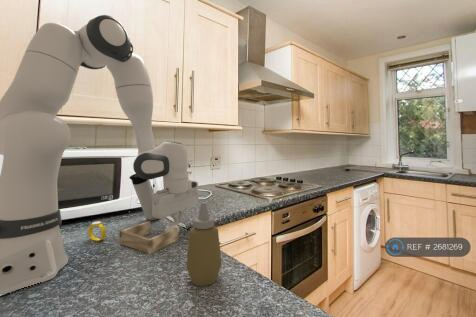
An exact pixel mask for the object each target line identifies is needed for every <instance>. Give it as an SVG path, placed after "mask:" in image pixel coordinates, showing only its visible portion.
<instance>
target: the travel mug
mask: <svg viewBox="0 0 476 317" xmlns="http://www.w3.org/2000/svg"><path fill="white" fill-rule="evenodd" d="M129 179H130V180H131V182H132V186H133V189H134V190H135V193H136V196H137V198H138V201H139V204H140V207H141V208H142V212H143V214H144V216H145V219H146V220H147V221H150V222H151V221H154V220H157V218H154V217H153V216H152V205H153V195H154V194H155V191H154V188H153V186H152V183H151V179H150V180H147V179H142V178H140V177H139V176H137V175H136V173H135V174H131V175H130V176H129Z"/></svg>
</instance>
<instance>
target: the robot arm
mask: <svg viewBox="0 0 476 317" xmlns="http://www.w3.org/2000/svg"><path fill="white" fill-rule="evenodd" d="M133 52H134V46H133V43H132V42H131V38H130V36H129V34H128V31H127V30H126V29H125V27H124V25H123V24H122V23H121V22H120V21H119V20H118V19H116V18H115V17H113V16H111V15H107V14H101V15H100V14H99V15H96V16H94V17H92V18H90V19H89V20H88V21H87V23H86V24H84V25H83V26H82V27H81V28H80V29H79V30H72V29H70V28H69V27H67V26H65V25H64V24H61V23H57V22H47V23H44V24H43V25H41V26H40V28H39V29H38V30H37V31H36V33H35V34H34V35H33V37H32V38H31V40H30V41H29V43H28V45H27V46H26V49H25V51H24V54H23V55H22V58H21V61H20V64H19V66H18V68H17V70H16V73H15V75H14V78H13V79H12V82H11V83H10V85H9V87H8V88H7V90H6V91H5V93H4V94H3V96H2V97H1V99H0V155H2V156H3V158H2V165H1V169H0V170H1V171H0V294H2V293H5V292H10V291H13V290H17V289H21V288H24V287H27V288H29V287H28V286H30V287H32V286H31V285H33V286H35V285H34V284H36V285H38V284H37V283H39V284H41V283H44V282H47V281H50V280H52V279H54V278H56V276H57V275H58V272H59V271H60V270H61V269H63V268H64V267H65V266H66V265H67V264H68V262H69V256H68V255H67V252H66V250H65V247H64V242H63V238H62V232H61V230H62V215H61V214H62V213H61V209H60V208H59V199H58V193H59V192H58V178H59V171H60V168H61V167H60V166H61V163H62V159H63V155H64V152H65V151H66V149H67V148H68V147H69V146H70V143H71V141H72V140H71V139H72V133H71V129H70V127H69V125H68V124H67V123H66V122H65V121H64V120H63V119H62V118H60V117H59V116H57V114H58V113H59V112H60V110H61V109H62V108H63V107H64V106H65V105H66V104H67V103H68V101H69V99H70V96H71V94H72V91H73V88H74V84H75V83H76V78H77V76H78V73H79V70H80V67H83V68H85V69H89V70H101V69H103V68H105V67H106V68H107V69H108V70H109V72H110V74H111V75H112V78H113V81H114V82H113V83H114V88H115V92H116V97H117V100H118V102H119V105H120V108H121V110H122V112H123V113H124V114H125V116H126V117H127V118H128V120H129V122H130V123H131V126H132V128H133V131H134V136H135V140H136V145H137V156H136V158H135V159H134V161H133V164H132V165H133V166H132V167H133V168H132V169H133V171H134V173H135V174H136V175H137V176H139V177H140V178H142V179H147V180H150V181H151V180H154V179H158V178H161V177H162V179H163V182H162V183H163V189H161V190H160V189H159V190H157V191H155V192H154V195H153V205H152V216H153V217H154V218H157V219H158V220H162V219H164V218H168V217H169V216H171V218H172V219H173V223H176V224H177V225H179V224H180V223H182V222H183V216H184V214H185V210H186V209H190V208H192V207H194V206H197V205H198V203H199V201H200V200H199V196H200V194H199V189H198V187H199V182H198V181H195V180H190V179H189V173H188V166H189V162H188V161H189V160H188V158H189V157H188V152H187V147H186V146H185V145H184V144H183V143H181V142H179V141H178V142H177V141H170V140H165V141H163V142H162V143H161V144H159V145H158V146H157V145H156V141H155V137H154V133H153V126H152V125H153V124H152V122H153V121H152V120H153V111H154V96H153V90H152V84H151V83H152V82H151V79H150V76H149V73H148V70H147V67H146V64H145V61H144V60H143V58H142V57H141V56H139V55H137V54H136V53H133ZM157 219H156V220H157ZM40 282H41V283H40ZM24 289H25V288H24ZM21 290H22V289H21Z"/></svg>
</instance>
